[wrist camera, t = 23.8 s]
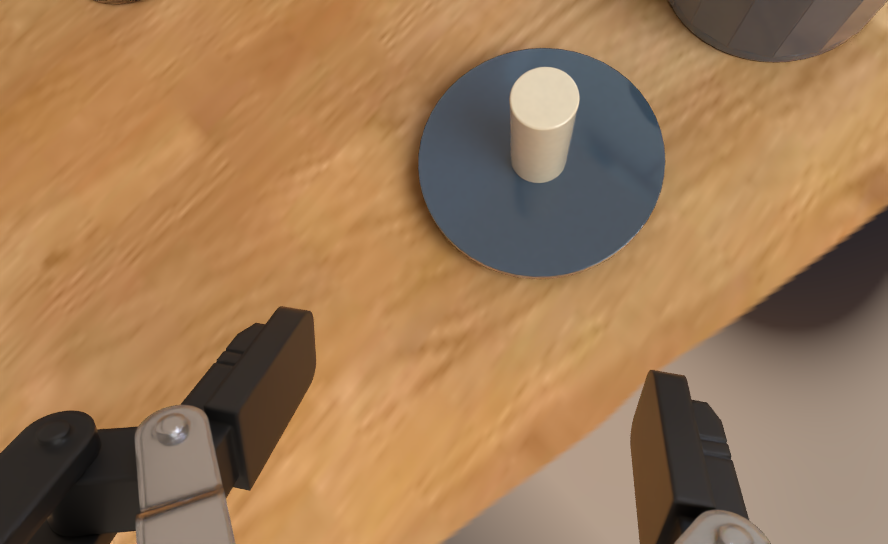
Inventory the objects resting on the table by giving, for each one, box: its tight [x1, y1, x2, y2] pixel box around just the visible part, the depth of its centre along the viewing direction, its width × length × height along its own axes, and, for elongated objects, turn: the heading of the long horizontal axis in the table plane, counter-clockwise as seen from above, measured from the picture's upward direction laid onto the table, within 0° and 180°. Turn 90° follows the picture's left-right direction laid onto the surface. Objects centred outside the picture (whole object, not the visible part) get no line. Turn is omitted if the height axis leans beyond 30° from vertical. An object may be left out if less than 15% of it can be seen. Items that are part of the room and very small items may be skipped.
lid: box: [418, 48, 665, 279], centre depth 28 cm, size 12×12×7 cm
